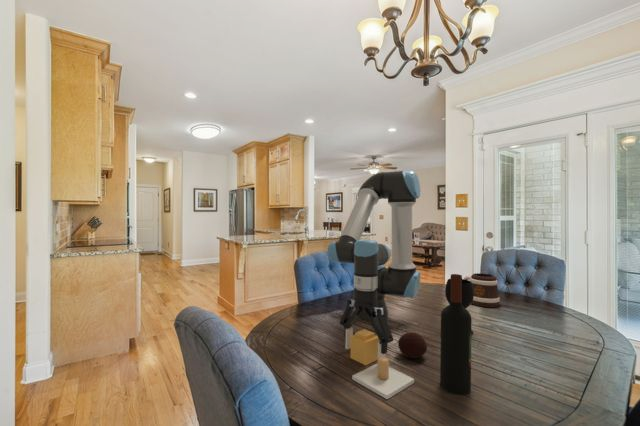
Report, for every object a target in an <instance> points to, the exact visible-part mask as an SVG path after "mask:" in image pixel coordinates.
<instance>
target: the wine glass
mask: <svg viewBox="0 0 640 426" xmlns="http://www.w3.org/2000/svg"><path fill="white" fill-rule="evenodd" d="M444 289H445V290H444V295H445V299H446V301H447V302H448V305H449V304H450V301H451V278H447V280H446V284H445V288H444ZM473 298H474V291H473V286H472V282H471V281H470V280H465V279H464V278H462V306H463V307H464V308H465V309H466V310H467V308H468V307H470V305H472V304H471V303H472V301H473ZM473 334H474V331H473V330H472V329H471V336H473Z"/></svg>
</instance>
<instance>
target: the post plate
mask: <svg viewBox="0 0 640 426" xmlns="http://www.w3.org/2000/svg"><path fill="white" fill-rule="evenodd" d="M389 363H390V359H389V358H388V357H386V356H385V357H379V358H378V360H377V363H376V364H374V365H372V366H369V367H367V368H365V369H364V370H361V371H359V372H357V373H355V374H352V377H351V379H352V380H353V381H355V382H356V383H357V384H359V385H361V386H363V387H365V388H366V389H368V390H370V391H372V392H374V393H375V394H377V395H379V396H380V397H382V398H384V399H386V400H389V399H390V398H392V397H393V396H395V395H397V394H398V393H400V392H402V391H404V390H405V389H406V388H408V387H411V386H412V385H413V384H414V383H415V379H414V378H413V377H411V376H409V375H407V374H405V373H403V372H400V371H399V370H396V369H394V368H392V367H390V364H389Z"/></svg>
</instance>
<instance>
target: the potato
mask: <svg viewBox="0 0 640 426" xmlns="http://www.w3.org/2000/svg"><path fill="white" fill-rule="evenodd" d="M397 345H398V350H399V351H400V353H402V354H403V356H405V357H407V358H409V359H418V358H421V357H423V356H424V355H425V354H426V352H427V349H428V344H427V341H426V340H425V339H424V337H423V336H422V335H420V334H418V333H416V332H411V331H410V332H407V333H404V334H402V335H401V336H400V337H399V339H398V341H397Z"/></svg>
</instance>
